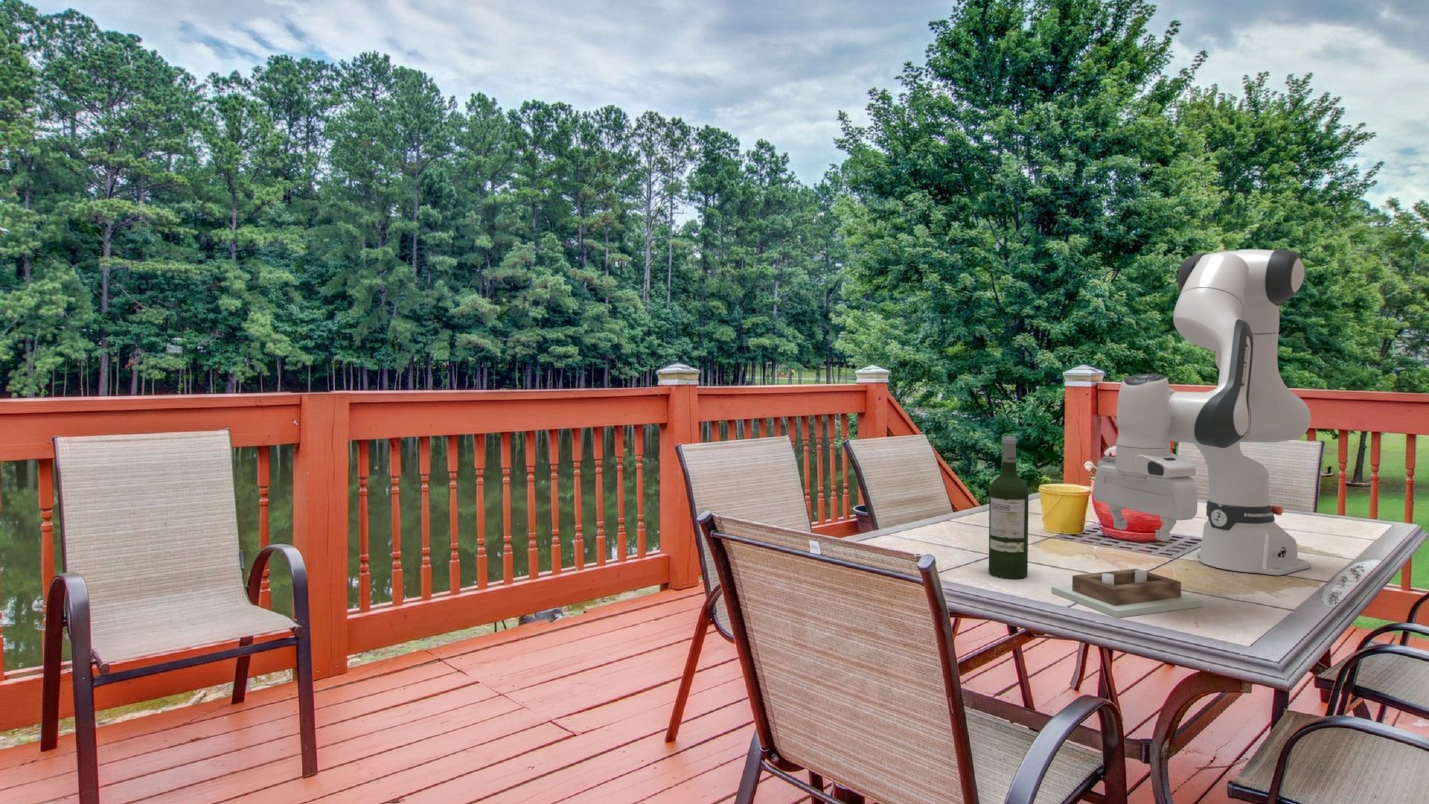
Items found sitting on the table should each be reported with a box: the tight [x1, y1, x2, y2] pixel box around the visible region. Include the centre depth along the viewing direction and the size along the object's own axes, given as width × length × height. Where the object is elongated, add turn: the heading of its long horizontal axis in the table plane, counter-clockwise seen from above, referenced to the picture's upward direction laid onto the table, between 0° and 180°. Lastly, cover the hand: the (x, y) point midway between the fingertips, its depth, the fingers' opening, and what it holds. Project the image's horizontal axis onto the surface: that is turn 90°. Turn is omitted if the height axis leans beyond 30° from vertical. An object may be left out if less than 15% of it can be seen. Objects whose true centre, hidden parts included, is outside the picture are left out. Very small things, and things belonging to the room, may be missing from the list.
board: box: [1051, 569, 1203, 619], centre depth 143 cm, size 20×16×5 cm
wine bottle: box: [988, 436, 1029, 580], centre depth 160 cm, size 8×8×30 cm
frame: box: [1071, 568, 1182, 606], centre depth 142 cm, size 16×10×3 cm, turn 108°
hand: (1140, 534), depth 139 cm, fingers open, 8 cm apart
